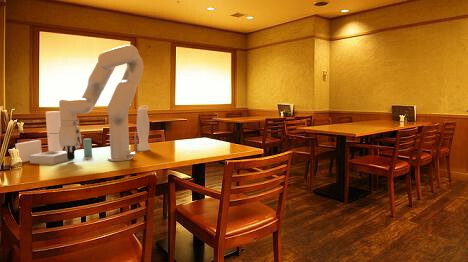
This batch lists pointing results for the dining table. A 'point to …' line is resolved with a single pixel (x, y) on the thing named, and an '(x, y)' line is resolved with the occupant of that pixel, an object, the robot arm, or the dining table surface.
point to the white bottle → (142, 130)
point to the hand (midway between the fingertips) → (71, 159)
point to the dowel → (87, 147)
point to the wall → (28, 149)
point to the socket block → (49, 157)
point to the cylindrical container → (53, 130)
